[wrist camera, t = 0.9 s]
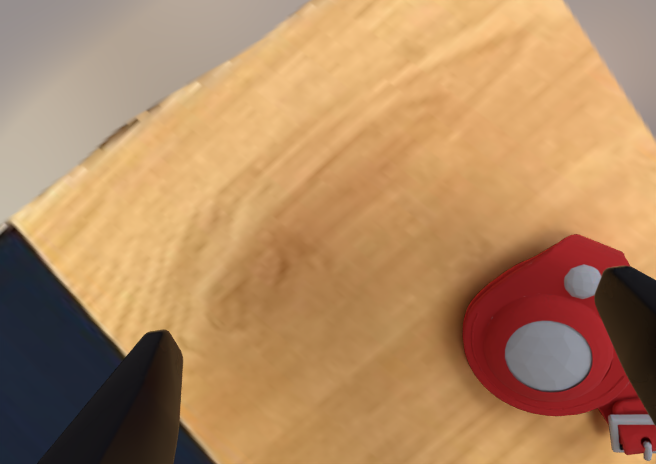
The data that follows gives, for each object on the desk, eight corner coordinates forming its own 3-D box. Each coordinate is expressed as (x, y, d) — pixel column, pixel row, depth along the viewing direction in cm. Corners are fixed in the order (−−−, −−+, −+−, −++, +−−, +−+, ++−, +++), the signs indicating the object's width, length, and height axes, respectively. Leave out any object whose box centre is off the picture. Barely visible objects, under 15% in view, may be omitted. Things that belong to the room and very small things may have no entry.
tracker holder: (433, 388, 24) (516, 222, 20) (440, 348, 28) (511, 203, 24) (673, 505, 21) (816, 337, 18) (642, 442, 25) (754, 295, 22)
